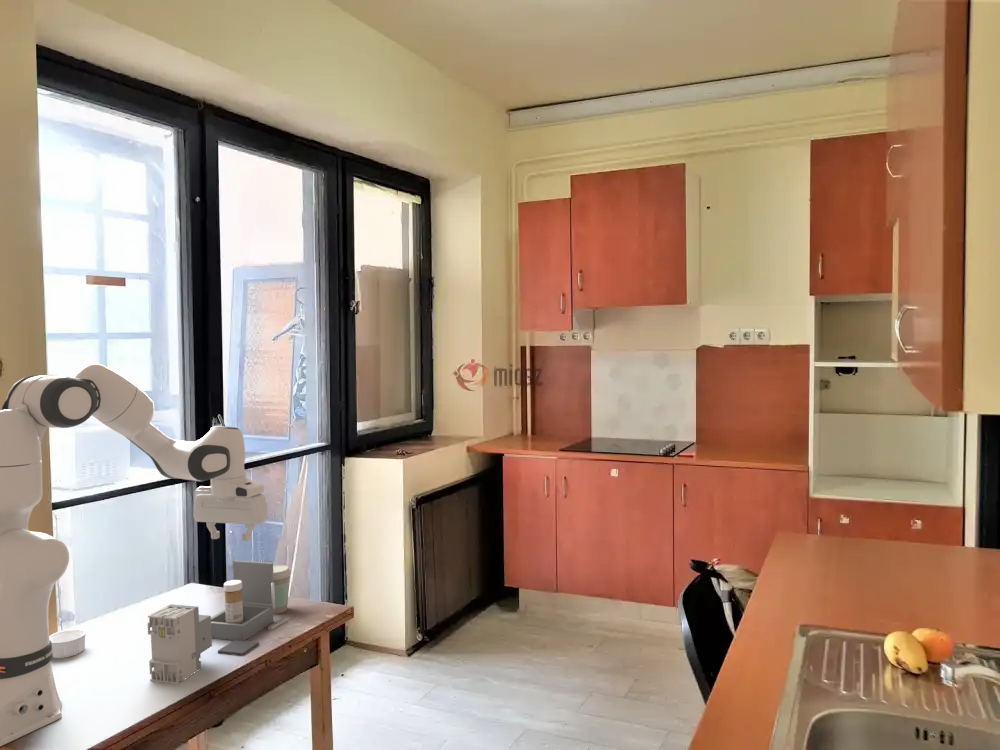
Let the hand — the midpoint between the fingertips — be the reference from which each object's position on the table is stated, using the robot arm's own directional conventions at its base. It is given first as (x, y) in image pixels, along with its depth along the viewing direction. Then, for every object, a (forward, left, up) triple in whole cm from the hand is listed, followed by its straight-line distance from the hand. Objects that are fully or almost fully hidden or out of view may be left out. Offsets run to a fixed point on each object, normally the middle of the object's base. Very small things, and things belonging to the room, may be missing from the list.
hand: (231, 539), depth 209 cm
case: (+2, 0, -25) cm, 25 cm away
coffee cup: (+17, -2, -25) cm, 30 cm away
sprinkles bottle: (0, 0, -25) cm, 25 cm away
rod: (+7, -8, -25) cm, 27 cm away
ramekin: (-21, +34, -25) cm, 47 cm away
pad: (-10, -7, -25) cm, 28 cm away
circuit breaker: (-23, -2, -25) cm, 34 cm away
